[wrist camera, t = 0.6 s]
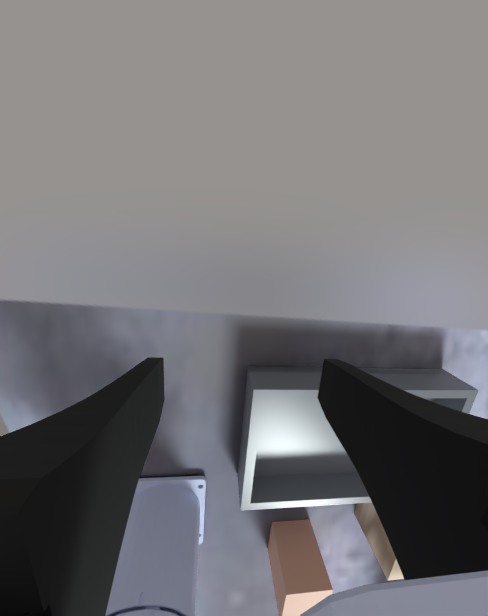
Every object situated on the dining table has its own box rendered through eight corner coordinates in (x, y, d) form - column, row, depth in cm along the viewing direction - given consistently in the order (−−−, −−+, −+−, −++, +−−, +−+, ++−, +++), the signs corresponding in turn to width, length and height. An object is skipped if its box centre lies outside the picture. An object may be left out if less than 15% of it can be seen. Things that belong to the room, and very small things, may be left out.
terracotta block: (303, 545, 30) (324, 618, 24) (267, 548, 29) (280, 624, 24) (309, 518, 29) (332, 589, 23) (271, 521, 28) (286, 594, 22)
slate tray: (408, 467, 28) (434, 498, 25) (237, 474, 25) (240, 510, 22) (442, 368, 24) (478, 390, 21) (247, 365, 22) (253, 389, 18)
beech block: (388, 510, 30) (429, 576, 24) (354, 513, 29) (387, 580, 24) (397, 482, 29) (443, 544, 23) (362, 484, 28) (399, 548, 22)
